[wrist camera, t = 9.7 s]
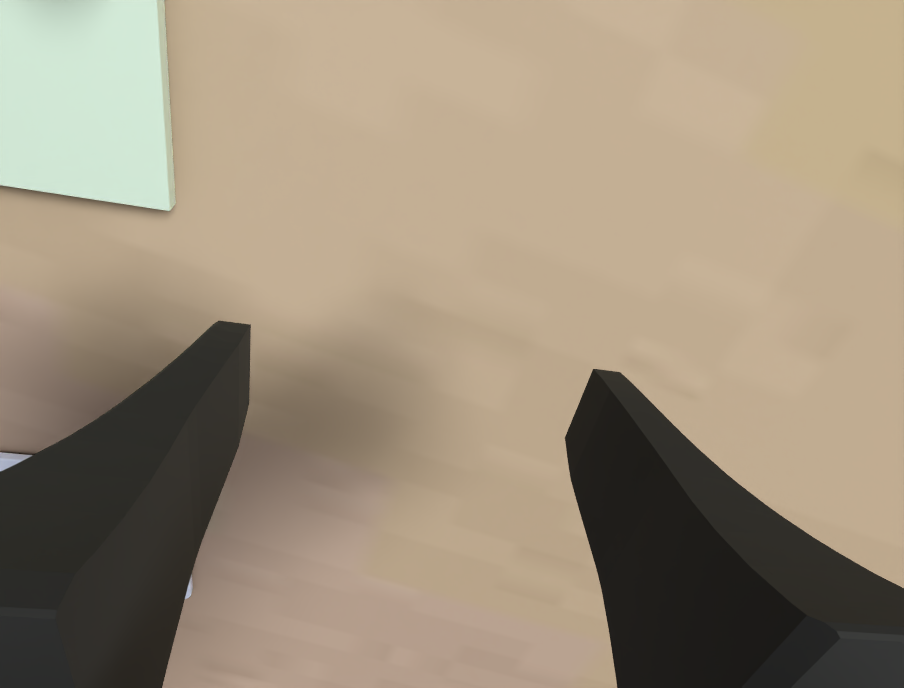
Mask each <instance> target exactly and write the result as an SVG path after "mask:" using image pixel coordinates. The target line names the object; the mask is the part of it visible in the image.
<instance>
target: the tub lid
mask: <svg viewBox="0 0 904 688" xmlns="http://www.w3.org/2000/svg"><path fill="white" fill-rule="evenodd" d="M0 185H3V186H10V187H16V188H23V189H29V190H36V191H42V192H49V193H55V194H62V195H68V196H75V197H81V198H88V199H94V200H101V201H108V202H114V203H121V204H127V205H134V206H140V207H147V208H153V209H160V210H166V211H170V210H171V209H172V208H173V206H174V205H175V204H176V201H175V183H174V165H173V148H172V130H171V112H170V94H169V76H168V59H167V41H166V23H165V5H164V0H0Z"/></svg>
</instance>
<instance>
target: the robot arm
mask: <svg viewBox="0 0 904 688" xmlns="http://www.w3.org/2000/svg"><path fill="white" fill-rule="evenodd" d="M250 328H251V325H248V324H241V323H233V322H225V321H218V322H216V323H215V324H213V325H212V326H211V327H210V328H209V329H208V330H207V331H206V332H205V333H204V334H203V335H201V336H200V337H199V338H198V339H197V340H196V341H195V342H194V343H193V344H192V345H191V346H190V347H189V348H187V349H186V350H185V351H184V352H183V353H182V354H181V355H180V356H178V357H177V358H176V359H175V360H174V361H173V362H171V363H170V364H169V365H168V366H167V367H166V368H164V369H163V370H162V371H161V372H160V373H158V374H157V375H156V376H155V377H154V378H152V379H151V380H150V381H149V382H147V383H146V384H145V385H143V386H142V387H141V388H139V389H138V390H137V391H135V392H134V393H133V394H131V395H130V396H129V397H127V398H126V399H125V400H123V401H122V402H121V403H119V404H118V405H117V406H115V407H114V408H112V409H111V410H109V411H108V412H106V413H105V414H104V415H102V416H101V417H99V418H98V419H96V420H94V421H93V422H91V423H90V424H88V425H87V426H85V427H83V428H82V429H80V430H78V431H77V432H75V433H74V434H72V435H70V436H68V437H67V438H65V439H63V440H61V441H59V442H57V443H56V444H54V445H52V446H50V447H48V448H46V449H44V450H42V451H40V452H38V453H36V454H35V455H24V454H13V453H2V452H0V688H162V685H163V681H164V677H165V673H166V669H167V665H168V661H169V657H170V653H171V649H172V646H173V642H174V638H175V634H176V630H177V626H178V622H179V619H180V615H181V611H182V607H183V603H184V600H185V599H187V598H189V597H190V596H191V593H192V590H193V585H192V570H193V567H194V563H195V560H196V557H197V554H198V551H199V548H200V545H201V542H202V539H203V537H204V534H205V532H206V529H207V526H208V524H209V521H210V519H211V516H212V514H213V511H214V508H215V506H216V503H217V501H218V498H219V496H220V493H221V490H222V488H223V485H224V483H225V480H226V478H227V475H228V472H229V470H230V467H231V465H232V462H233V459H234V457H235V454H236V451H237V449H238V446H239V442H240V438H241V434H242V430H243V426H244V422H245V418H246V414H247V410H248V405H249V381H250ZM565 441H566V449H567V457H568V464H569V471H570V477H571V481H572V485H573V489H574V492H575V496H576V500H577V503H578V507H579V510H580V514H581V517H582V520H583V524H584V527H585V531H586V534H587V538H588V541H589V544H590V548H591V551H592V555H593V558H594V562H595V565H596V568H597V572H598V576H599V580H600V585H601V589H602V594H603V599H604V605H605V611H606V616H607V622H608V628H609V633H610V640H611V647H612V653H613V660H614V667H615V673H616V680H617V688H904V588H902V587H900V586H898V585H896V584H894V583H892V582H890V581H888V580H886V579H884V578H882V577H880V576H878V575H876V574H875V573H873V572H871V571H869V570H867V569H866V568H864V567H862V566H860V565H859V564H857V563H855V562H853V561H852V560H850V559H848V558H846V557H845V556H843V555H841V554H839V553H838V552H836V551H834V550H833V549H831V548H830V547H828V546H826V545H825V544H823V543H821V542H820V541H818V540H817V539H815V538H813V537H812V536H810V535H809V534H807V533H806V532H804V531H803V530H801V529H800V528H798V527H797V526H795V525H794V524H792V523H791V522H789V521H788V520H786V519H785V518H783V517H782V516H781V515H779V514H778V513H776V512H775V511H774V510H772V509H771V508H769V507H768V506H767V505H765V504H764V503H763V502H761V501H760V500H759V499H757V498H756V497H755V496H754V495H752V494H751V493H750V492H748V491H747V490H746V489H745V488H743V487H742V486H741V485H739V484H738V483H737V482H736V481H734V480H733V479H732V478H731V477H730V476H728V475H727V474H726V473H725V472H724V471H723V470H721V469H720V468H719V467H718V466H717V465H716V464H715V463H714V462H712V461H711V460H710V459H709V458H708V457H707V456H706V455H705V454H703V453H702V452H701V451H700V450H699V449H698V448H697V447H696V446H695V445H694V444H693V443H692V442H691V441H689V440H688V439H687V438H686V437H685V436H684V435H683V434H682V433H681V432H680V431H679V430H678V429H677V428H676V427H675V426H674V425H673V424H672V423H671V422H670V421H669V420H668V419H667V418H666V417H665V416H664V415H663V414H662V413H661V412H660V411H659V410H658V409H657V408H656V407H655V406H654V405H653V404H652V403H651V402H650V401H649V400H648V399H647V398H646V397H645V396H644V395H643V394H642V393H641V392H640V391H639V390H638V389H637V388H636V387H635V386H634V385H633V384H632V383H631V382H630V381H629V380H628V379H627V378H626V377H625V376H624V375H622V374H621V373H620V372H614V371H606V370H598V369H593V371H592V373H591V376H590V378H589V381H588V383H587V386H586V388H585V390H584V393H583V395H582V398H581V400H580V403H579V405H578V407H577V410H576V412H575V415H574V417H573V420H572V422H571V424H570V427H569V429H568V432H567V434H566V437H565Z"/></svg>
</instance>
